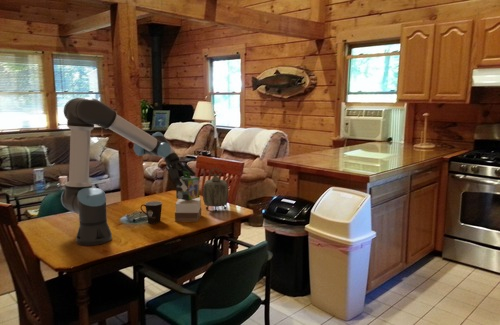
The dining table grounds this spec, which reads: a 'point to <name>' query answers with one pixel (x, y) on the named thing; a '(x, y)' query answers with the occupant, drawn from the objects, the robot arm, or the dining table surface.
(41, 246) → the dining table surface
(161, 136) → the robot arm
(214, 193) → the olive tall rounded piece
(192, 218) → the grey square block
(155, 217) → the coffee mug
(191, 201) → the cream block
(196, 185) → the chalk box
